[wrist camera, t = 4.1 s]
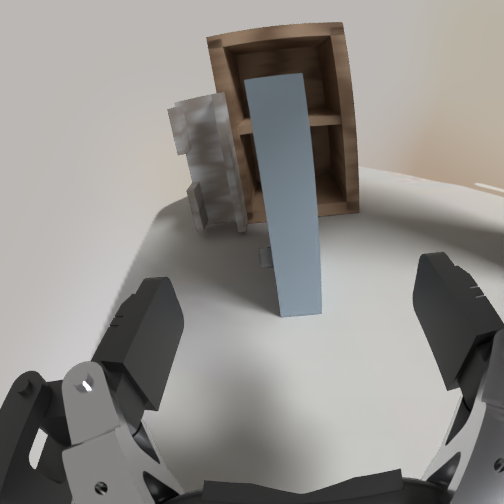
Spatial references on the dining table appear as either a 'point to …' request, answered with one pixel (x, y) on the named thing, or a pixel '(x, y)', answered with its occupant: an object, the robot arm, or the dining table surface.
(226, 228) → the dining table surface
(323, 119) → the cabinet
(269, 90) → the door
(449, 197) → the dining table surface
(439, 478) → the robot arm
